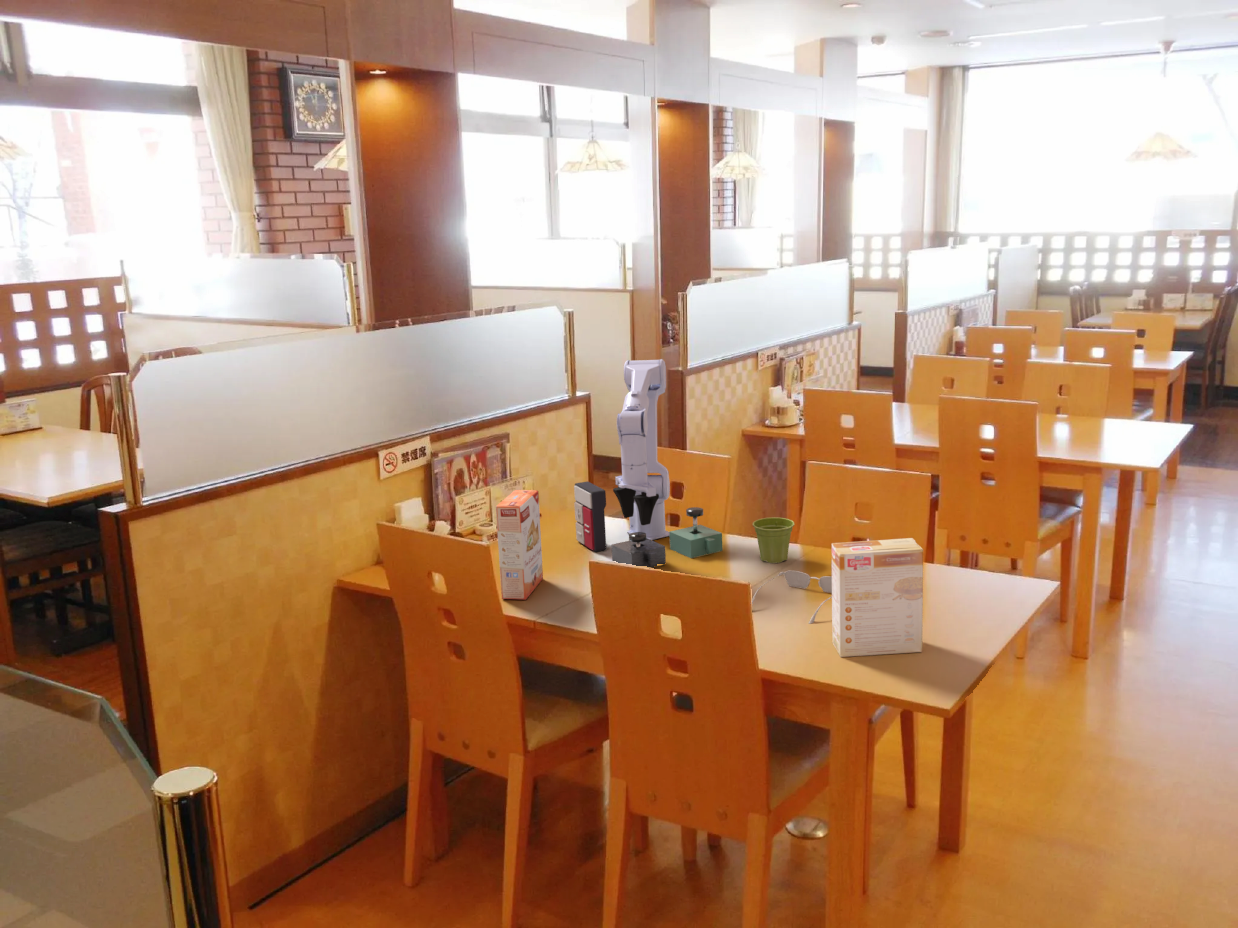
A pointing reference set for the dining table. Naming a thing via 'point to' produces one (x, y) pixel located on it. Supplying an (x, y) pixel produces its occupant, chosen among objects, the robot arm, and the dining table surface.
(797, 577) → the eyeglasses
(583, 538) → the red grey tall block
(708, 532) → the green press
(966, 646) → the dining table surface
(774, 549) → the plant pot
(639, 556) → the charcoal press
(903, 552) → the coffeecake box
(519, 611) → the dining table surface
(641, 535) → the charcoal plunger
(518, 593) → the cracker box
